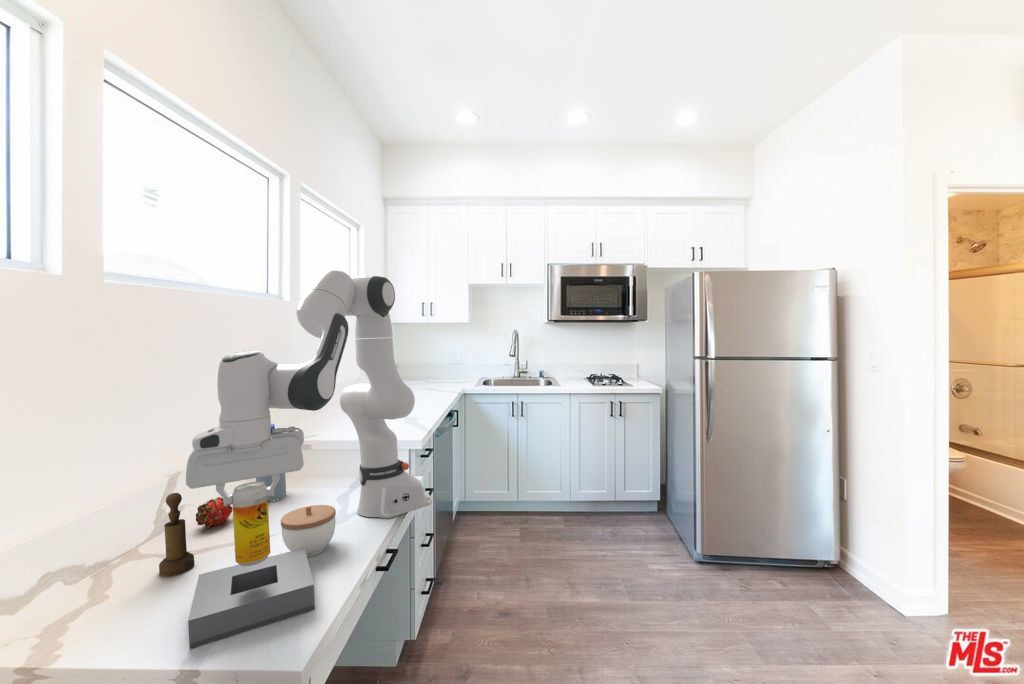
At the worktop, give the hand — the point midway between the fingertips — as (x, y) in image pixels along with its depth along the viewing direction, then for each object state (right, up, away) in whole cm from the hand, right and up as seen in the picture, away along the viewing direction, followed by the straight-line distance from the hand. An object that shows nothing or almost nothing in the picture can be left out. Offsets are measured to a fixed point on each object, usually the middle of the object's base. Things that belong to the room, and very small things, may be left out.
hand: (249, 500), depth 89 cm
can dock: (+1, -21, 0) cm, 21 cm away
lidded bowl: (+2, -21, +23) cm, 31 cm away
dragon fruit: (-34, -22, +41) cm, 58 cm away
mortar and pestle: (-26, -22, +15) cm, 38 cm away
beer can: (+1, -12, 0) cm, 12 cm away
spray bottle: (-29, -21, +62) cm, 72 cm away
